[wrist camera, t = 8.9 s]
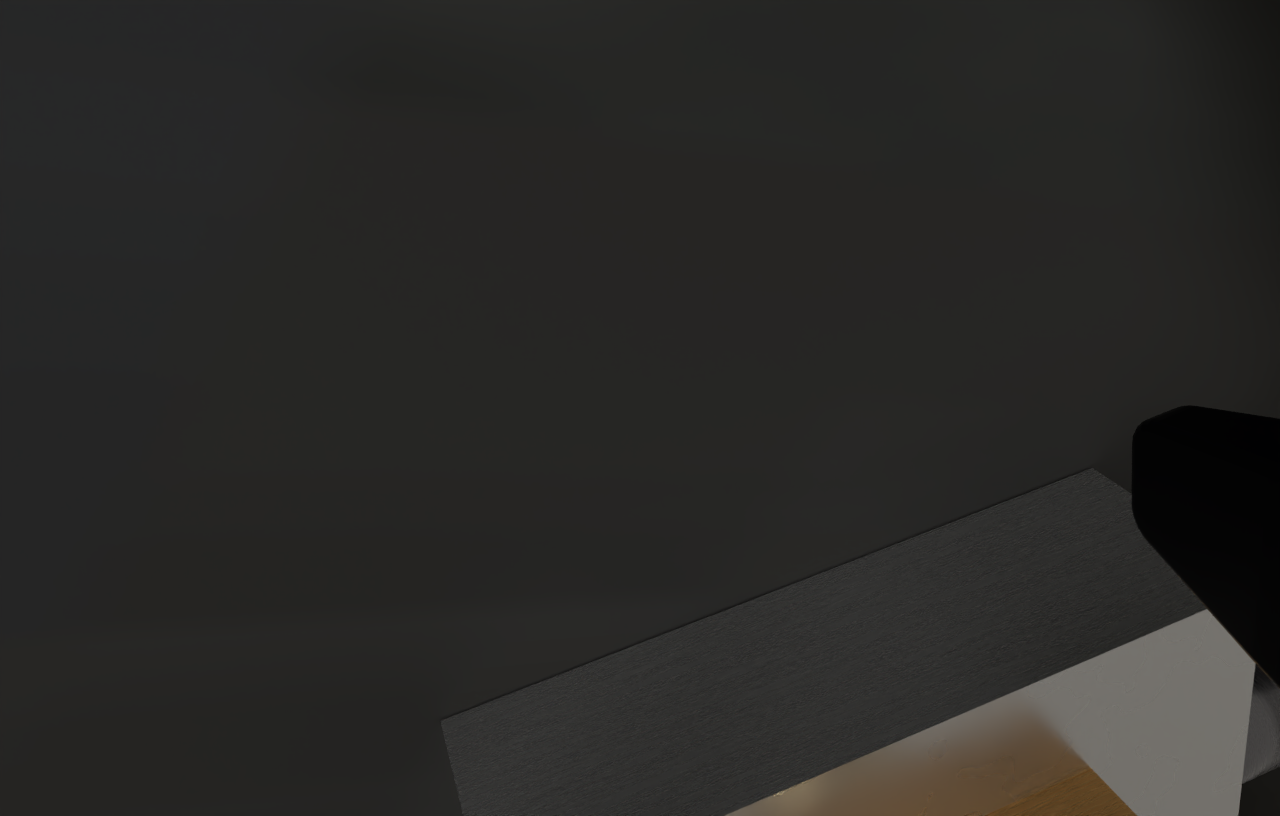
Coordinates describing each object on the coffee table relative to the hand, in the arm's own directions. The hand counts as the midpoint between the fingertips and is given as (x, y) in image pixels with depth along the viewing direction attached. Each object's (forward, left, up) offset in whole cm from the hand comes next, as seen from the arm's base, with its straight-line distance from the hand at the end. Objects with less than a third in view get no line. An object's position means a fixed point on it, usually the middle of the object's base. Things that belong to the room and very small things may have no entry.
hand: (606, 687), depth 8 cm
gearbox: (-7, +17, -12) cm, 22 cm away
